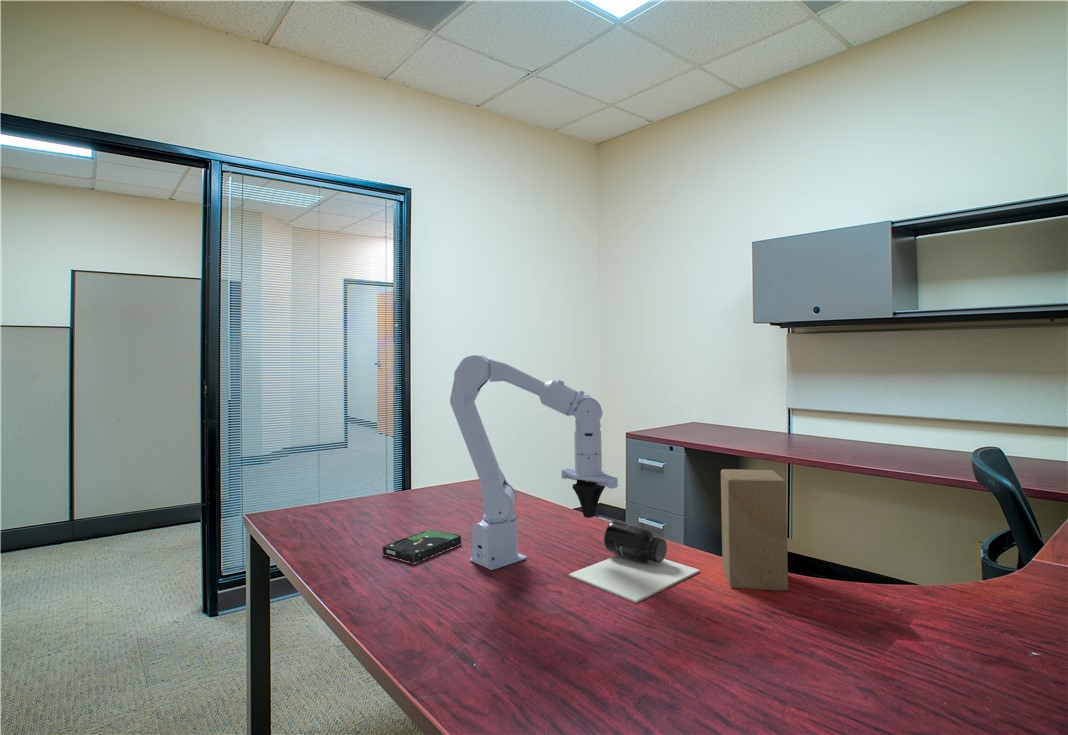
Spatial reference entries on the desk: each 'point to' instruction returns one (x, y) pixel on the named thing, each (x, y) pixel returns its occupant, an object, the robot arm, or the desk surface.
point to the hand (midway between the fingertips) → (589, 516)
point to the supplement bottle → (634, 542)
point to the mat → (633, 576)
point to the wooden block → (754, 529)
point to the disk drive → (421, 545)
